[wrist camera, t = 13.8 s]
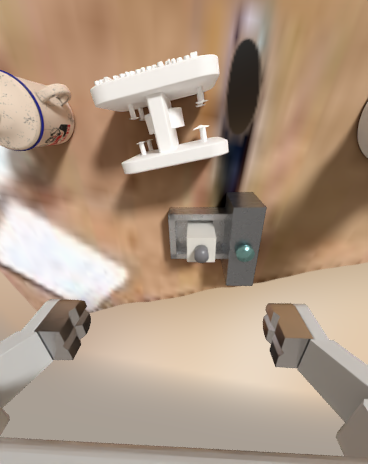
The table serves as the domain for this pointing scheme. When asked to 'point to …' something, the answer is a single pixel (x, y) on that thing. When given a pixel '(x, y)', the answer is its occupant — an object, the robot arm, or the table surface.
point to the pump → (201, 241)
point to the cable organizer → (163, 108)
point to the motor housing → (225, 234)
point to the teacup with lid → (33, 113)
